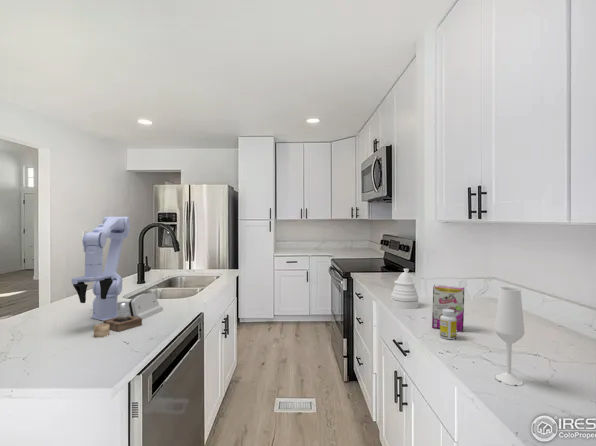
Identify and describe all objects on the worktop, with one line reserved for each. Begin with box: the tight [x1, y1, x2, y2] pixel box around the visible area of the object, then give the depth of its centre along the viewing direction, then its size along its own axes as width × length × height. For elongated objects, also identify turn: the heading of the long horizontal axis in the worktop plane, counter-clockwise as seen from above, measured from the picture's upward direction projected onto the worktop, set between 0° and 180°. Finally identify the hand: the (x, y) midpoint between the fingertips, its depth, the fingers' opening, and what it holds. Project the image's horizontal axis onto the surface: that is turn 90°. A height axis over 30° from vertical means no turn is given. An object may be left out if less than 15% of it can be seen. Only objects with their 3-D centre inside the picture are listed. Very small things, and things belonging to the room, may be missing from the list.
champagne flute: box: [494, 286, 525, 384], centre depth 89 cm, size 7×7×24 cm
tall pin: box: [117, 301, 129, 322], centre depth 130 cm, size 4×4×9 cm
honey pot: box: [390, 268, 419, 310], centre depth 168 cm, size 13×13×18 cm
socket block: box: [102, 316, 143, 333], centre depth 130 cm, size 10×10×3 cm
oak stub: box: [93, 323, 111, 338], centre depth 120 cm, size 5×5×4 cm
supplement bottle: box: [439, 309, 457, 340], centre depth 122 cm, size 5×5×10 cm
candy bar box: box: [431, 284, 465, 332], centre depth 132 cm, size 11×5×16 cm, turn 65°
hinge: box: [128, 292, 164, 321], centre depth 147 cm, size 17×5×10 cm, turn 169°
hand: (93, 300), depth 127 cm, fingers open, 7 cm apart
